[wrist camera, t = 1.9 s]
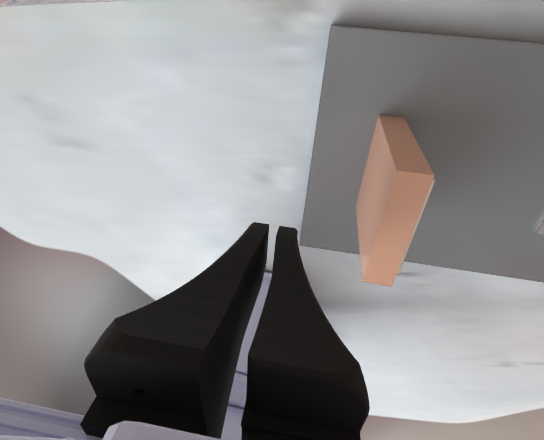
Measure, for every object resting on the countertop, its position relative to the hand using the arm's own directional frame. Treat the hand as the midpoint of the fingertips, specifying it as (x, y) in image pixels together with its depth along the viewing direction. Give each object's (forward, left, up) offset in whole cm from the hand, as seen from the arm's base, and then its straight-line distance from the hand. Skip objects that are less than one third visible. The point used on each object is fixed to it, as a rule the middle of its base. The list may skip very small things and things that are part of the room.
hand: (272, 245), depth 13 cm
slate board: (0, -10, -10) cm, 14 cm away
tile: (0, -5, -9) cm, 10 cm away
